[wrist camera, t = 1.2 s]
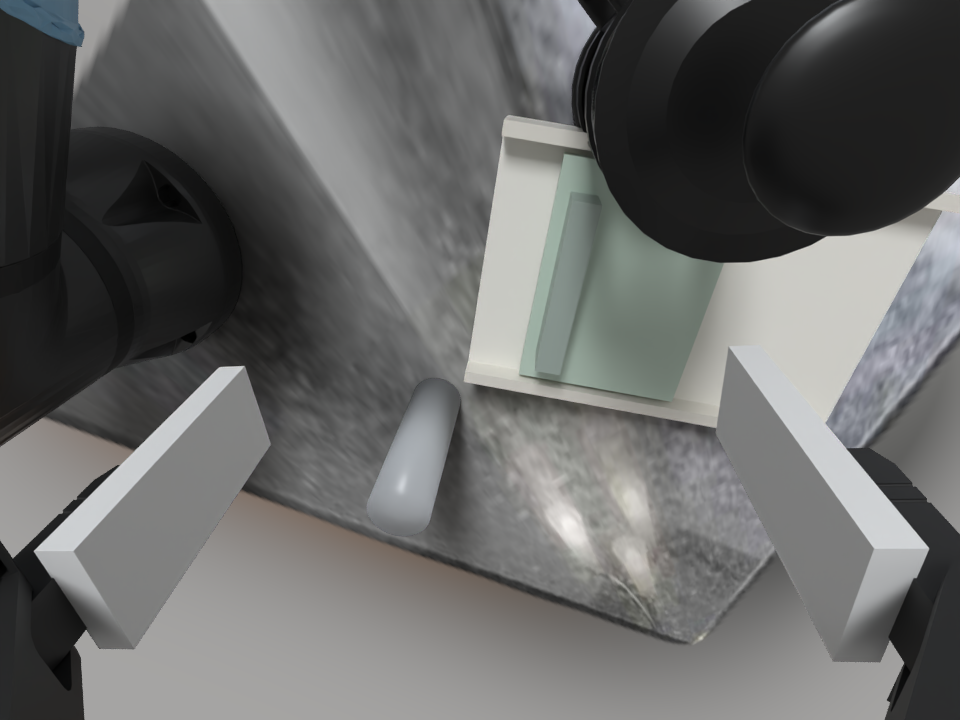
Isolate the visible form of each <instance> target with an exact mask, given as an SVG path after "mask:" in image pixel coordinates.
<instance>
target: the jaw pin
mask: <svg viewBox="0 0 960 720" xmlns="http://www.w3.org/2000/svg"><path fill="white" fill-rule="evenodd" d="M460 404H461V398H460V394H459V392H458V390H457V389H456V387H455V386H454V385H452V384H451V383H450V382H448V381H446V380H443V379H440V378H430V379H426V380H424V381H422V382H421V383H419V384H418V385H417V387H416V388H415V390H414V393H413V395H412V398H411V400H410V402H409V405H408V407H407V409H406V412H405V414H404V417H403V419H402V421H401V424H400V426H399V428H398V431H397V433H396V436H395V438H394V440H393V443H392V445H391V448H390V450H389V452H388V455H387V457H386V459H385V462H384V464H383V467H382V469H381V471H380V474H379V476H378V478H377V481H376V483H375V486H374V488H373V490H372V493H371V495H370V497H369V500H368V503H367V513H368V516H369V518H370V520H371V521H372V522H373V523H374V525H376V526H377V527H378V528H379V529H381V530H382V531H384V532H386V533H388V534H391V535H395V536H413V535H416V534H418V533H420V532H422V531H423V530H424V529H425V528H426V527H427V526H428V524H429V522H430V518H431V514H432V510H433V506H434V503H435V499H436V495H437V491H438V487H439V484H440V480H441V476H442V472H443V468H444V465H445V461H446V457H447V453H448V449H449V446H450V442H451V438H452V434H453V430H454V427H455V423H456V419H457V415H458V411H459V408H460Z"/></svg>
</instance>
